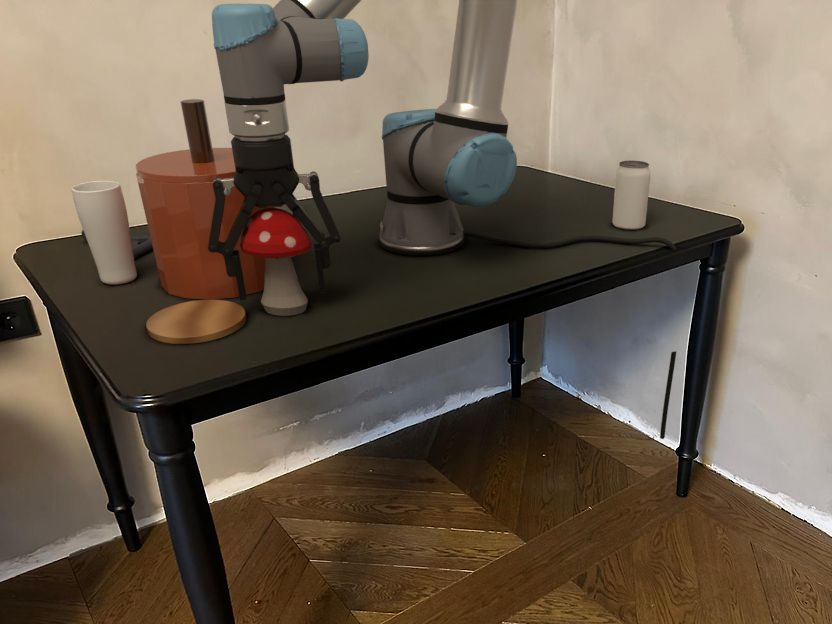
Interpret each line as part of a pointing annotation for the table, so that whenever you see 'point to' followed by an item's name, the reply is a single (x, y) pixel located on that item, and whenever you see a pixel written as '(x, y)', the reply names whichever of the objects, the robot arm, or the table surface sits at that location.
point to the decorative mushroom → (277, 257)
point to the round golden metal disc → (196, 321)
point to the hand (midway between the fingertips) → (283, 292)
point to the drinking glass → (106, 229)
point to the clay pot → (194, 214)
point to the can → (631, 195)
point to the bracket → (137, 244)
